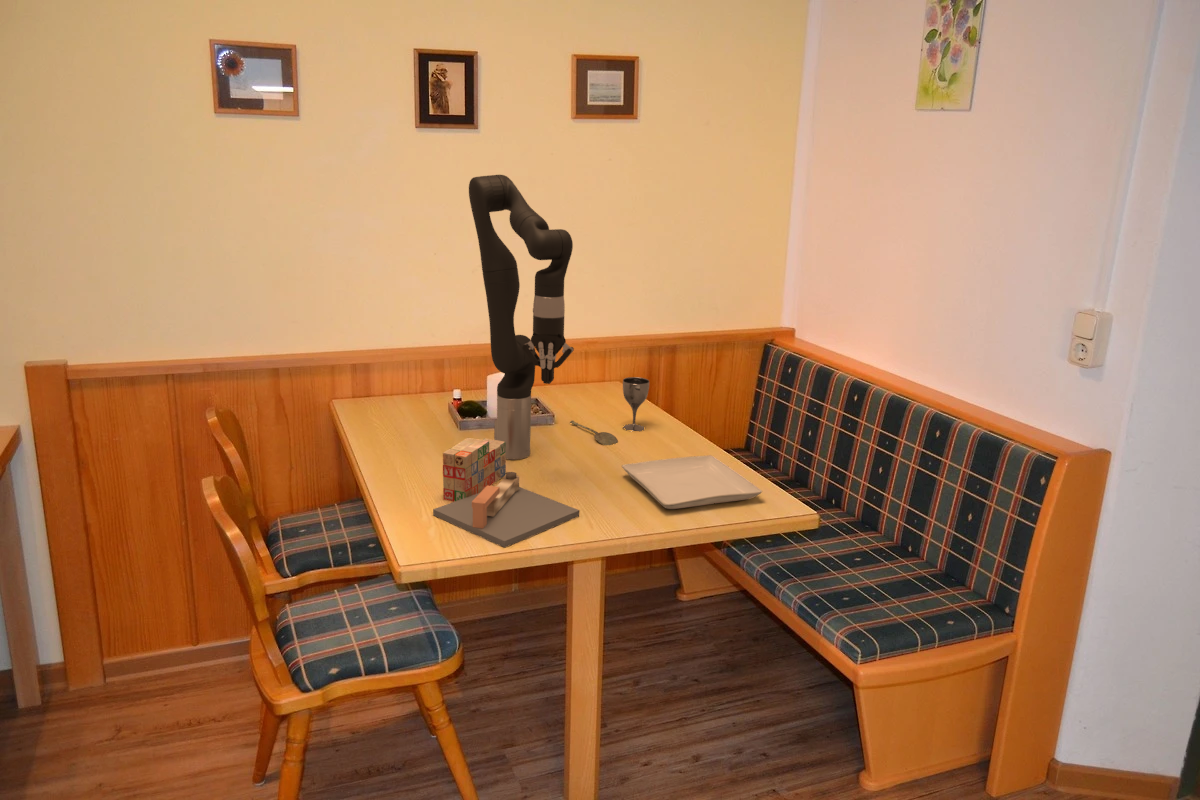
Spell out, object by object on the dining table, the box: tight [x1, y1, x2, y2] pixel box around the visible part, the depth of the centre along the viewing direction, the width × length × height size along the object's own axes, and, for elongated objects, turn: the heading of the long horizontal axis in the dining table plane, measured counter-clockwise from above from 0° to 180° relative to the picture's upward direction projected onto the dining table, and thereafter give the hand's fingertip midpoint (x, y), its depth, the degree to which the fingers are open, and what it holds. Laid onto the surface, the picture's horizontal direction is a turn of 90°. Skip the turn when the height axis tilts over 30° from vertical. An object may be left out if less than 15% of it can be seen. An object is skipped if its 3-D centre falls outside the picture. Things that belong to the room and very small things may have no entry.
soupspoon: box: [569, 420, 619, 446], centre depth 275 cm, size 22×3×7 cm
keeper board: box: [432, 485, 580, 548], centre depth 215 cm, size 24×24×8 cm
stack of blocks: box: [442, 437, 507, 502], centre depth 230 cm, size 21×6×12 cm, turn 159°
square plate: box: [621, 455, 763, 510], centre depth 236 cm, size 27×27×4 cm
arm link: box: [487, 471, 520, 517], centre depth 219 cm, size 19×4×4 cm, turn 167°
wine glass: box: [622, 376, 650, 432], centre depth 280 cm, size 8×8×15 cm
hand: (547, 382), depth 227 cm, fingers closed
